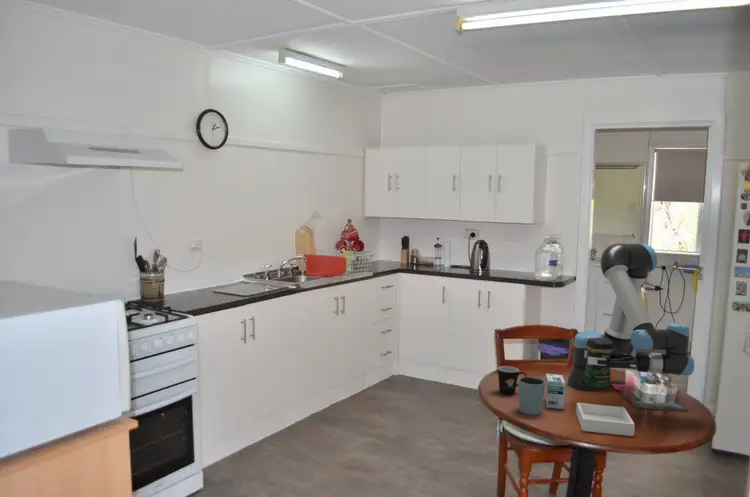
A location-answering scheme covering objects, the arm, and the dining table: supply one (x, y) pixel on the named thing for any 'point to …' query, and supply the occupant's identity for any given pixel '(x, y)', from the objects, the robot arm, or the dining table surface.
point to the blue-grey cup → (531, 395)
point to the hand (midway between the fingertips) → (586, 357)
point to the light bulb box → (555, 391)
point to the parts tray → (604, 419)
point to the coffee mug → (508, 379)
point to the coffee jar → (598, 373)
